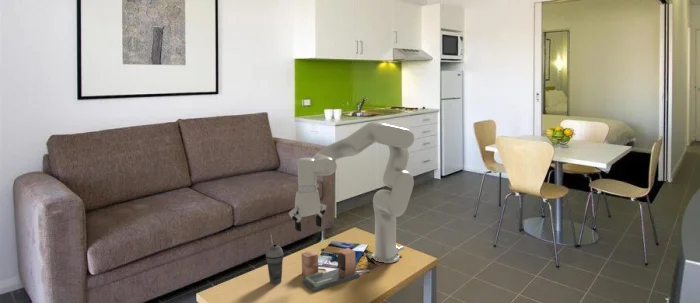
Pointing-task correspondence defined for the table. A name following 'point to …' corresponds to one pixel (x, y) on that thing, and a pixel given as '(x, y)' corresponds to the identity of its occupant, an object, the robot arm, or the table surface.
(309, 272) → the block
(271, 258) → the beverage cup
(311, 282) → the rail
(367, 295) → the table surface
